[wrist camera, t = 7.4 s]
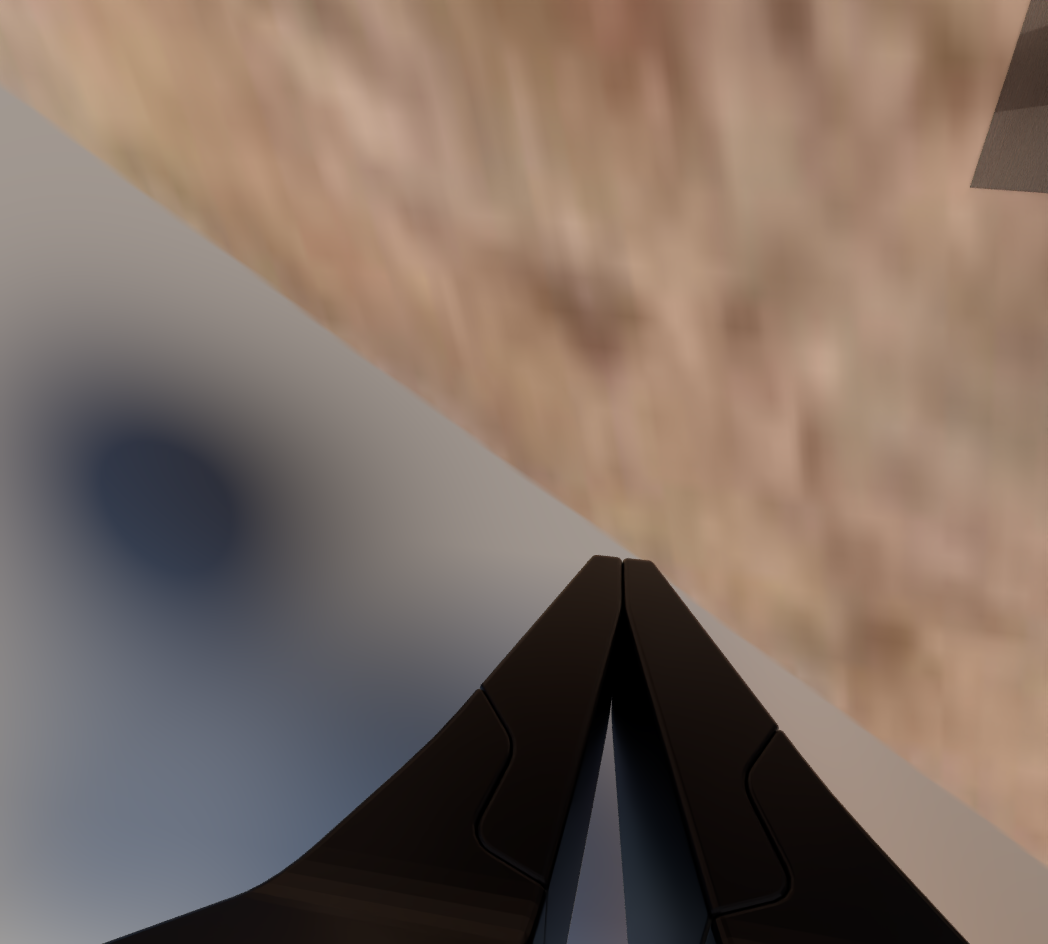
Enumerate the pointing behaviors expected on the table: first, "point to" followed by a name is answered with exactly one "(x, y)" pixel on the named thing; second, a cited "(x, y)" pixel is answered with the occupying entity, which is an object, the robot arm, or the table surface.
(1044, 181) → the grey stepped block
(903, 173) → the table surface
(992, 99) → the table surface
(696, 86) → the table surface
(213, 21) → the table surface
